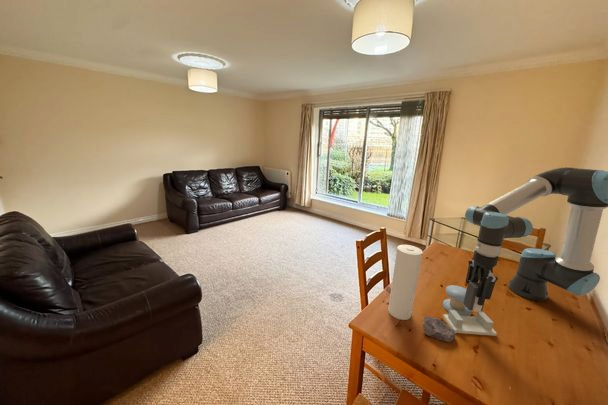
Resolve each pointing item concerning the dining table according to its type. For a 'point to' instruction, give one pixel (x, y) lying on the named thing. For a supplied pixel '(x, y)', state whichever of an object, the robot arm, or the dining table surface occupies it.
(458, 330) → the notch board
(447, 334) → the rock
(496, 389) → the dining table surface
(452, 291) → the spool
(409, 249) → the cylinder container
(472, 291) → the gray rectangular block
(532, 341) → the dining table surface
